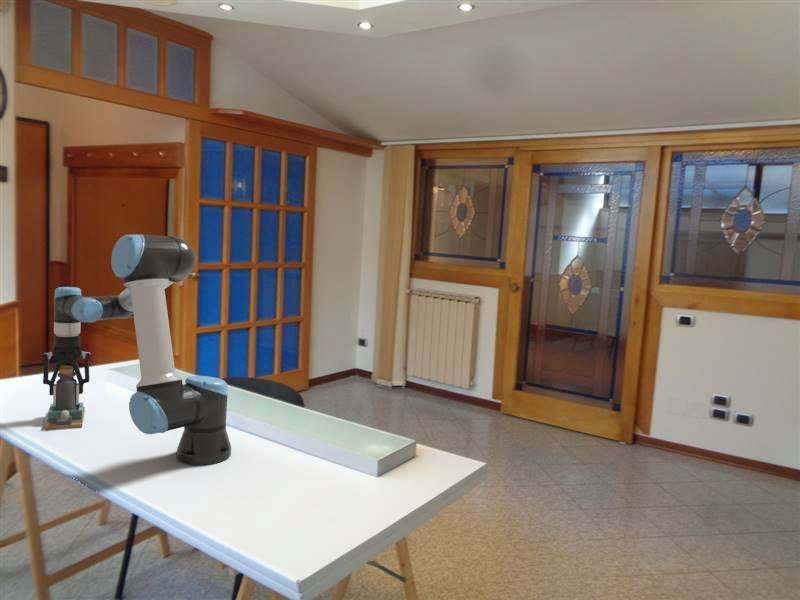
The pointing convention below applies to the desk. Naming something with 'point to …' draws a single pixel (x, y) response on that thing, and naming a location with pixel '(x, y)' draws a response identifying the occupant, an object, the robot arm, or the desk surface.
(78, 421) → the block
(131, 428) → the desk surface
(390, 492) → the desk surface
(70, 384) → the bottle
